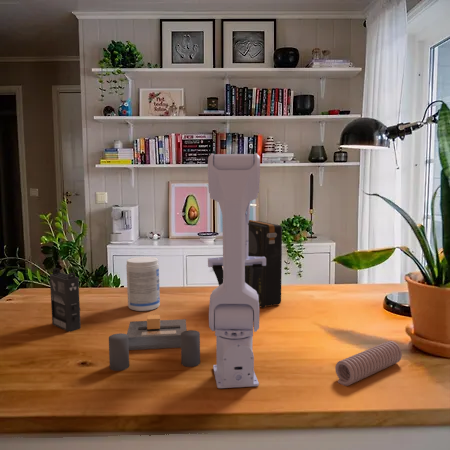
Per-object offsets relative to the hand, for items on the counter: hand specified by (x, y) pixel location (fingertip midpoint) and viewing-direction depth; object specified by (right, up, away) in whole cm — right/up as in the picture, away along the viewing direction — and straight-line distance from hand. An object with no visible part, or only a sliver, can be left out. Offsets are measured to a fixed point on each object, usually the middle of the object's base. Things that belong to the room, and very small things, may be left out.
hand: (237, 293), depth 112 cm
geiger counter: (-45, -10, +6) cm, 46 cm away
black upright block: (+8, -7, +28) cm, 30 cm away
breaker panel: (-20, -11, -4) cm, 23 cm away
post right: (-10, -12, -17) cm, 23 cm away
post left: (-25, -12, -19) cm, 34 cm away
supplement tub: (-28, -8, +22) cm, 36 cm away
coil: (+26, -13, -21) cm, 36 cm away
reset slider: (-20, -7, -4) cm, 22 cm away
